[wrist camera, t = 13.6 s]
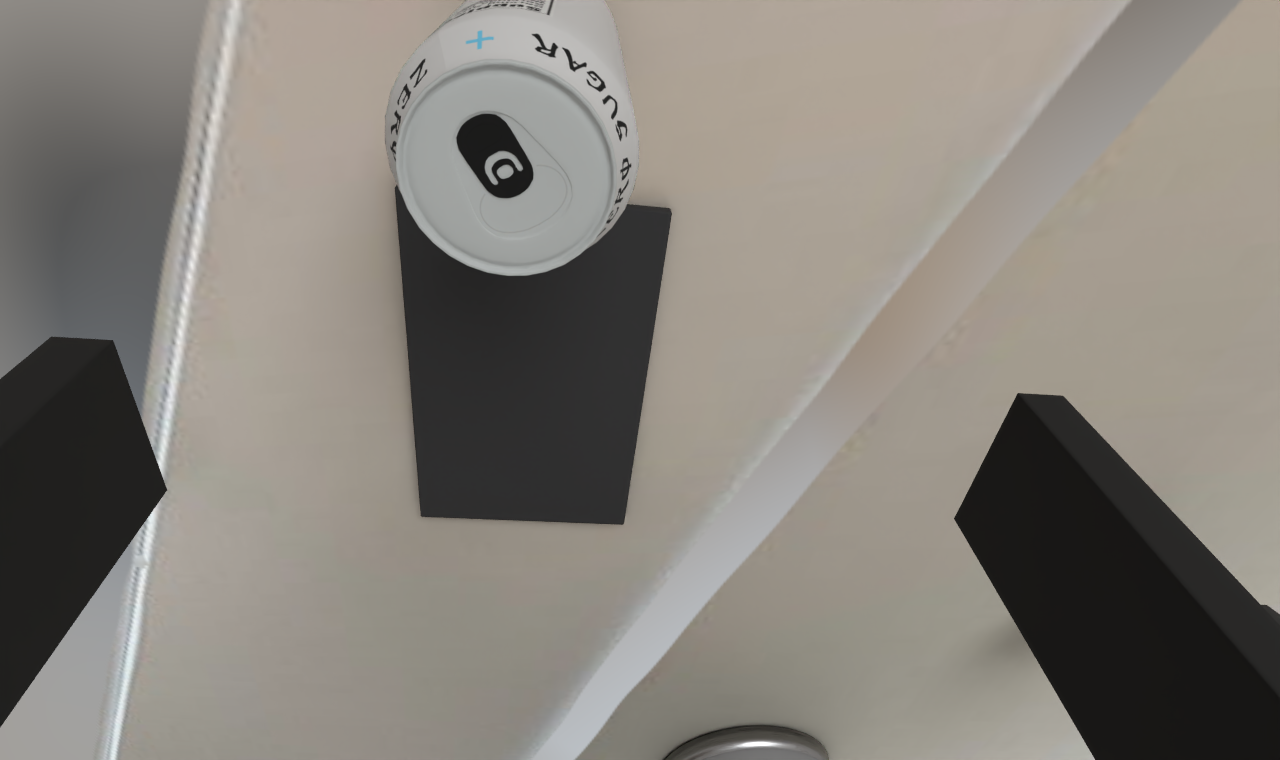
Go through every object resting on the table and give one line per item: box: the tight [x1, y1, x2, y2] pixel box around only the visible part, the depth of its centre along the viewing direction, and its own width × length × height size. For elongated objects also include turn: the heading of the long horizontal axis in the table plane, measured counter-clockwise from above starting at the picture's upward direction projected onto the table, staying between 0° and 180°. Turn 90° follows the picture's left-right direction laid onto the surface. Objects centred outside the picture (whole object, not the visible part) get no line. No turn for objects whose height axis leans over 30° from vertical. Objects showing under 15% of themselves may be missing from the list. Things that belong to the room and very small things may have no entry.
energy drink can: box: [385, 0, 639, 276], centre depth 22 cm, size 6×6×15 cm
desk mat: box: [395, 185, 672, 525], centre depth 37 cm, size 20×12×1 cm, turn 172°
